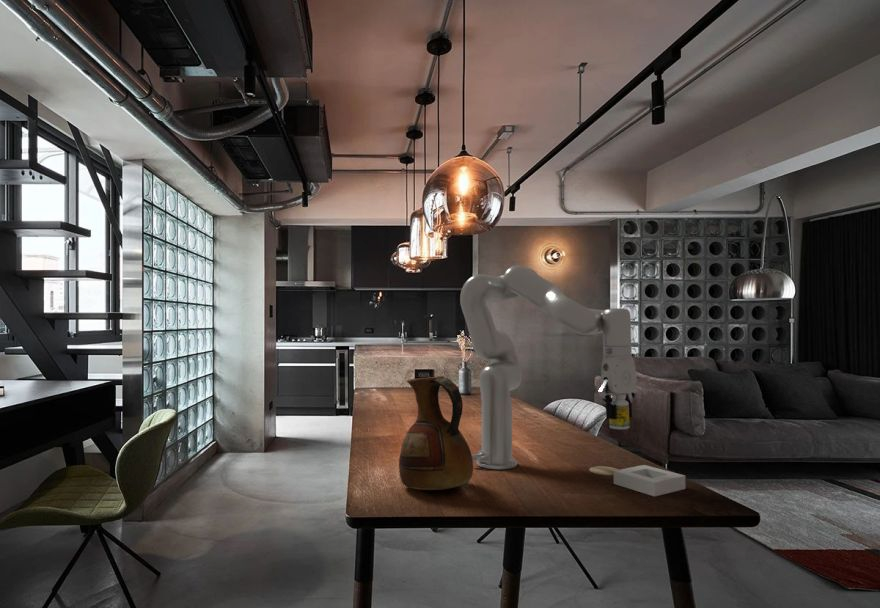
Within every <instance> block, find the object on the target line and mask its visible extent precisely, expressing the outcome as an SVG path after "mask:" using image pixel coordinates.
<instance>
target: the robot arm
mask: <svg viewBox="0 0 880 608" xmlns="http://www.w3.org/2000/svg"><path fill="white" fill-rule="evenodd" d="M459 298H460V299H459V301H460V307H461V311H462V314H463V316H464V319H465V323H466V326H467V330H468V334H469V337H470V340H471V344H472V346H473V347H472V348H473V350H474V353H475V355H476V357H478V358H479V359H481V360H483V361H490V364H488V365H486V366H485V367H484V368H483V369H482V370H481V371H480V374H479V379H478V380H479V381H478V382H479V383H478V384H479V390H480V399H481V449H478V452H477V453H476V454H475V453H474V454H472V453H471V455H472V460H473V462H476V465H477V466H479V467H481V468H483V469H488V470H489V469H490V470H509V469H514V468H516V467H517V465H518V462H517V460H516V459H514V458H513V404H512V402H513V401H512V397H511V391H514V390H516V389H517V388H519V387H520V385H521V384H522V380H523V371H522V368H521V365H520V361H519V358H518V355H517V351H516V348H515V345H514V343H513V340H512V338H511V337H510V336H509V335H508V334H507V333H506V332H504V331H502V330H499V329H497V327H496V326H495V323H494V318H493V316H492V314H491V311H490V310H489V308H488V306H487V302H490V303H499V302H503V301H507V300H512V299H515V298H521V299H524V300H525V301H527V302H528V303H530V304H531V305H533V306H535V307H536V308H538V309H540V311H542V312H543V313H545V314H546V315H547V316H549V317H550V318H552V319H553V320H554V321H556V322H557V323H559V324H561V325H562V326H564V327H566V328H567V329H569V330H571V331H573V332H574V333H576V334H579V335H582V336H586V335H588V336H589V335H590V336H593V335H599V334H602V347H603V348H602V353H603V357H602V362H601V369H600V387H599V389H598V392H597V393H598V395H599V396H600V397H601V399H602V400H603V403H604V404H605V413H606V414H605V415H606V419H608V420H609V419H617V406H616V405H615V400H616V394H626V399H625V400H626V401H627V402H628V403H629V418H632V417H633V416H632V415H633V409H632V405H633V404H632V403H633V402H634V398H635V397H636V396H635V395H636V393H638V391H639V388H638V378H637V370H636V362H635V359H634V357H633V356H632V329H631V328H632V327H631V326H632V325H631V323H632V322H631V312H630V310H629V309H627V308H619V307H618V308H606V309H595V308H588V307H586V306H584V305H582V304H579V302H577V301H574V299H571V298H570V297H568V296H566V295H565V294H564V293H563V292H562V291H561V290H560V288H559V286H557V285H556V284H554V283H553V282H551V281H549V280H548V279H546V278H543V277H542V276H540V275H538V272H537V271H536V270H534V269H533V268H531V267H527V266H523V265H512V266H510V267H509V268H508V269H507V270H506V271H505V272H504V274H503V275H498V276H494V275H490V274H486V273H485V274H484V273H483V274H482V273H481V274H479V273H478V274H474V275H472V276H471V277H469V278H468V279H467V280H466V281H465V282H464V283H463V286H462V288H461V290H460V296H459ZM611 395H612V397H611Z"/></svg>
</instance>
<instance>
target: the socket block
mask: <svg viewBox="0 0 880 608" xmlns="http://www.w3.org/2000/svg"><path fill="white" fill-rule="evenodd" d="M613 484H614V485H617V486H620V487H623V488H625V489H630V490H633V491H636V492H640V493H642V494H645V495H648V496H650V497H651V496H652V497H658V496H662V495H666V494H670V493H675V492H678V491H682V490H686V475H684V474H680V473H676V472H674V471H669V470H666V469H661V468H658V467H654V466H651V465H646V464H643V465H641V464H640V465H636V466H631V467H627V468H621V469H619V470H616V471H614V475H613Z"/></svg>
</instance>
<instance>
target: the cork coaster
mask: <svg viewBox="0 0 880 608" xmlns="http://www.w3.org/2000/svg"><path fill="white" fill-rule="evenodd" d="M616 470H620V469H618V468H616V467H610V466H604V465H603V466H601V465H599V466H598V465H597V466H592V467H590V468H589V472H591V473H594V474H597V475H603V476H614V471H616Z"/></svg>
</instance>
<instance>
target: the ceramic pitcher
mask: <svg viewBox="0 0 880 608" xmlns="http://www.w3.org/2000/svg"><path fill="white" fill-rule="evenodd" d="M406 382H407V383H408V385H409V386H410V387H411V388H412V390H413V391H414V395H415V399H416V400H415V401H416V405H417V416H416V417H417V418H416V420H415V421H414V423H413V424H412V425H411V426H410V427H409V428H408V430H407V431H406V433H405V436H404V438H403V440H402V444H401V448H400V454H399V459H398V470H399V471H398V472H399V478H400V480H401V484H403V486H404V487H407V488H410V489H415V490H421V491H422V490H423V491H443V490H449V489H453V488H457V487H463V486H467V485H468V484H469V482H470V481H471V479H472V477H473V474H474V473H473V472H474V461H473V460H472V452H471V449H470V445H469V444H468V442H467V441H466V438H465V437H464V435H463V434H462V432H461V430H460V429H459V427H460V423H461V418H462V415H463V409H464V408H463V407H464V405H463V398H462V395H461V392H460V390H459V387H458V386H457V384H455V383H454V382H453V381H452V380H451V379H449V378H447V377H445V376H443V375H442V376H439V375H437V376H434V377H433V376H429V377H419V378H410V379H408V380H406ZM440 388H443V389H444V390H445V391H446V393H447V394H448V396H449V398H450V401H451V403H452V407H451V408H452V414H451V420H450V421H449V420H447V419H445V417H444V415H443V414H442V411H441V407H440V401H439V391H440Z"/></svg>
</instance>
